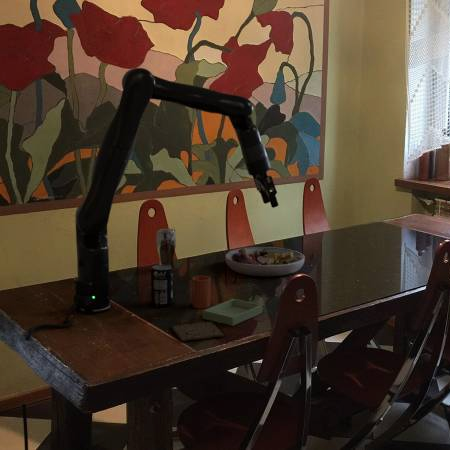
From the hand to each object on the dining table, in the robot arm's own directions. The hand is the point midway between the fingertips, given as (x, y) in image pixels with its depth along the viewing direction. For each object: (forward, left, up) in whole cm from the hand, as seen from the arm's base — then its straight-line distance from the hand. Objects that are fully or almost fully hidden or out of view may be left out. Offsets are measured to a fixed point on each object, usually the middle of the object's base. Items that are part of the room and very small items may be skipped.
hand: (271, 204), depth 233 cm
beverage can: (-27, +23, -31) cm, 47 cm away
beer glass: (+5, +50, -31) cm, 59 cm away
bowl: (+29, +22, -31) cm, 47 cm away
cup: (-21, +12, -31) cm, 39 cm away
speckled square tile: (-41, -3, -31) cm, 52 cm away
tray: (-23, -2, -31) cm, 39 cm away
